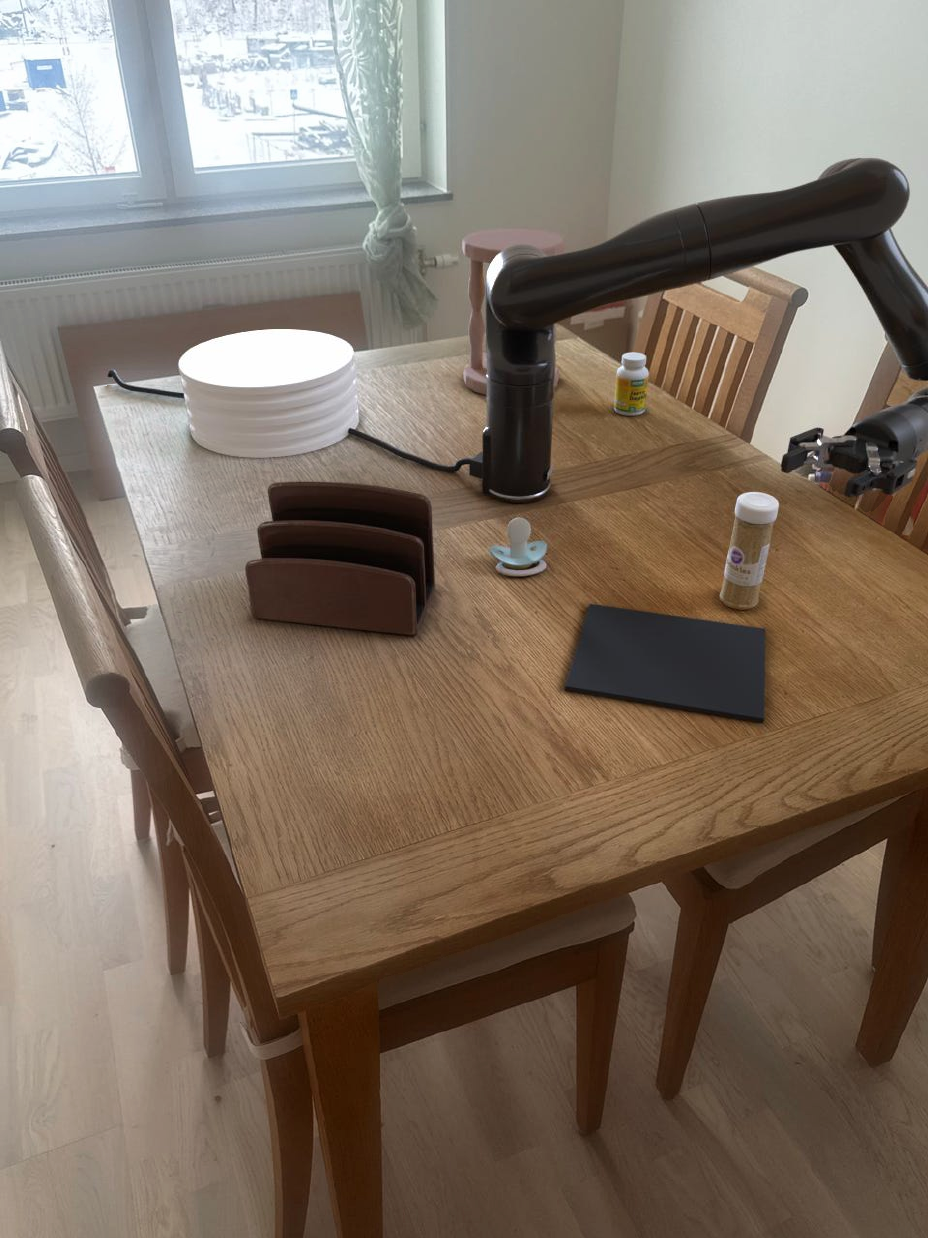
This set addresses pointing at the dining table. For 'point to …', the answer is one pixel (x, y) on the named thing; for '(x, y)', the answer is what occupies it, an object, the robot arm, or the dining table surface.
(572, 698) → the dining table surface
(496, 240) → the hourglass
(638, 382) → the supplement bottle
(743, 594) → the sprinkles bottle
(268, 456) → the plate stack
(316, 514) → the letter holder
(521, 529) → the pacifier
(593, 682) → the placemat
